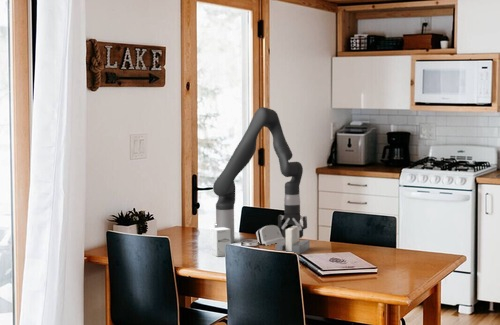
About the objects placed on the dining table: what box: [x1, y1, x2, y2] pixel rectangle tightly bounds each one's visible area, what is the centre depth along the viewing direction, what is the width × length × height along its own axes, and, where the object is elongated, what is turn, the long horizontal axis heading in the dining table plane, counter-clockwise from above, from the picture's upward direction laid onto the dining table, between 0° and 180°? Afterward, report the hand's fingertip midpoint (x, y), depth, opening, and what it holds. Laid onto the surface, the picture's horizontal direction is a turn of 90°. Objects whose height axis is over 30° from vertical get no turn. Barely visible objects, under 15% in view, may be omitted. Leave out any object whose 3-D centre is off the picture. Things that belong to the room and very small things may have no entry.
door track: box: [274, 238, 311, 255], centre depth 384 cm, size 16×12×4 cm
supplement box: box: [209, 227, 232, 257], centre depth 376 cm, size 7×7×13 cm
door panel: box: [285, 225, 301, 251], centre depth 384 cm, size 12×3×10 cm, turn 158°
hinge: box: [255, 224, 286, 247], centre depth 406 cm, size 17×5×10 cm, turn 141°
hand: (292, 237), depth 384 cm, fingers open, 8 cm apart
